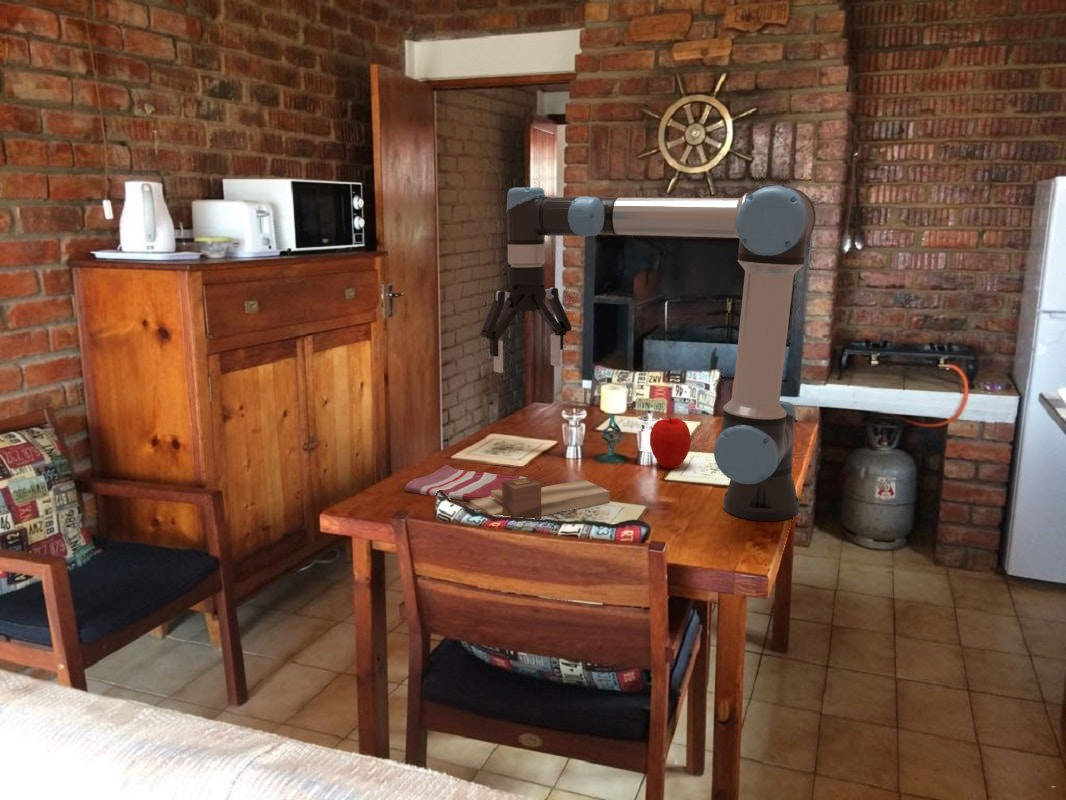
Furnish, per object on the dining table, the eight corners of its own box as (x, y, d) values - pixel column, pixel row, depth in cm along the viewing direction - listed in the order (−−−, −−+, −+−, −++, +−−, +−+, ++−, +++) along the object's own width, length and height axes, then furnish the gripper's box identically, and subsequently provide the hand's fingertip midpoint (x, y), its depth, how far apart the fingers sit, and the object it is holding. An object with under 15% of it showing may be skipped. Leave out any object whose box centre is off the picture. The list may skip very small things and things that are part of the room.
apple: (666, 458, 225) (667, 410, 222) (699, 466, 218) (700, 416, 215) (641, 466, 218) (641, 417, 215) (674, 474, 211) (675, 424, 208)
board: (609, 502, 192) (609, 491, 191) (492, 526, 178) (492, 514, 177) (584, 490, 200) (584, 479, 200) (470, 511, 187) (469, 500, 186)
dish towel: (443, 474, 215) (443, 463, 215) (531, 486, 205) (531, 475, 204) (403, 494, 200) (403, 482, 200) (495, 508, 190) (495, 496, 190)
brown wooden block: (541, 527, 177) (541, 482, 175) (514, 533, 174) (514, 487, 172) (508, 507, 189) (507, 465, 187) (482, 512, 186) (481, 469, 184)
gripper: (568, 262, 192) (568, 360, 196) (462, 267, 180) (465, 371, 184) (588, 263, 186) (587, 365, 190) (479, 269, 174) (481, 377, 178)
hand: (527, 368), depth 187 cm, fingers open, 13 cm apart
